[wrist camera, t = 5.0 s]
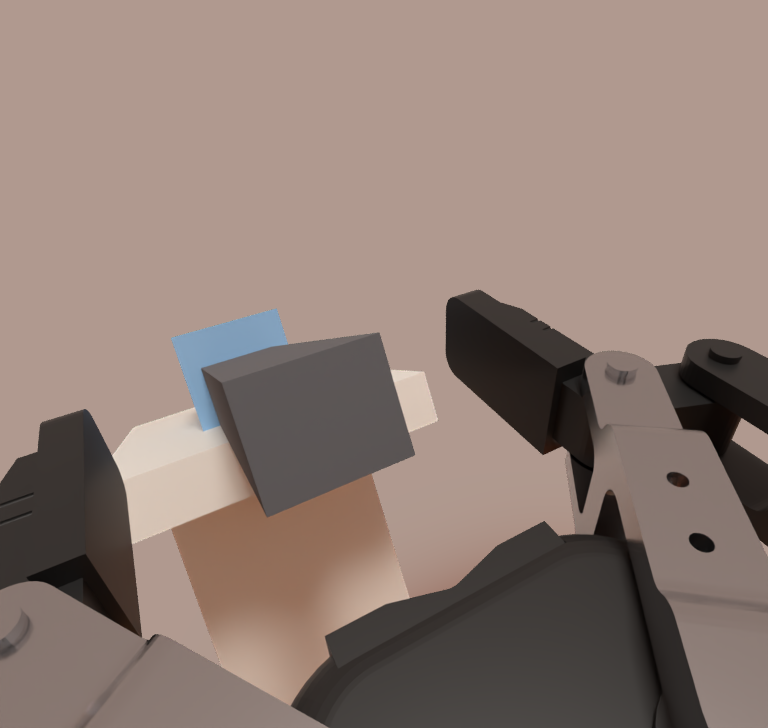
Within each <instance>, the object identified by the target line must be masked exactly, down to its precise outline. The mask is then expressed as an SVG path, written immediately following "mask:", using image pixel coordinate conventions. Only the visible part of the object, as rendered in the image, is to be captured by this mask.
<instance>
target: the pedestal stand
mask: <svg viewBox="0 0 768 728" xmlns="http://www.w3.org/2000/svg"><path fill="white" fill-rule="evenodd" d="M390 371H391V374H392V377H393V381H394V384H395V388H396V391H397V394H398V398H399V401H400V405H401V408H402V411H403V415H404V418H405V422H406V425H407V429H408V432H411V431H414V430H416V429H419V428H421V427H424V426H426V425H429V424H431V423H433V422H436V421H438V419H437V415H436V412H435V408H434V405H433V401H432V398H431V394H430V391H429V387H428V384H427V380H426V377H425V373H424V372H418V371H402V370H401V371H400V370H390ZM112 457H113V459H114V461H115V462H116V464H117V466H118V469H119V471H120V474H121V476H122V479H123V482H124V486H125V490H126V495H127V503H128V513H129V522H130V531H131V540H132V544H134V543H136V542H139V541H141V540H144V539H146V538H148V537H151V536H154V535H156V534H159V533H161V532H163V531H166V530H168V529H172V532H173V535H174V538H175V540H176V543H177V546H178V549H179V552H180V554H181V557H182V560H183V563H184V565H185V568H186V571H187V574H188V576H189V579H190V582H191V585H192V587H193V590H194V593H195V596H196V598H197V601H198V604H199V607H200V609H201V612H202V615H203V618H204V620H205V623H206V626H207V629H208V631H209V634H210V637H211V640H212V642H213V645H214V648H215V651H216V653H217V656H218V659H219V662H220V665H221V667H222V668H224V669H226V670H227V671H229V672H231V673H233V674H234V675H236V676H238V677H240V678H242V679H243V680H245V681H247V682H249V683H250V684H252V685H254V686H256V687H257V688H259V689H261V690H263V691H265V692H266V693H268V694H270V695H272V696H273V697H275V698H277V699H279V700H281V701H282V702H284V703H286V704H288V705H289V706H291V704H292V702H293V700H294V699H295V697H296V696H297V694H298V693H299V691H300V690H301V688H302V687H303V685H304V684H305V682H306V681H307V680H308V679H309V678H310V677H311V675H312V674H313V673H314V672H315V671H316V670H317V668H318V667H319V666H320V665H321V664H322V663H324V662H325V661H326V660H327V659H328V658H329V657H330V656H329V652H328V648H327V644H326V640H325V636H326V635H328V634H330V633H332V632H333V631H335V630H337V629H339V628H341V627H343V626H345V625H347V624H349V623H351V622H353V621H354V620H356V619H358V618H360V617H362V616H364V615H366V614H368V613H370V612H372V611H373V610H375V609H377V608H379V607H381V606H383V605H385V604H388V603H392V602H396V601H401V600H405V599H409V595H408V591H407V588H406V585H405V582H404V578H403V575H402V572H401V569H400V565H399V562H398V559H397V556H396V553H395V549H394V546H393V543H392V539H391V536H390V533H389V529H388V527H387V523H386V520H385V516H384V513H383V510H382V507H381V504H380V500H379V497H378V494H377V490H376V487H375V484H374V480H373V477H372V474H369V475H367V476H365V477H362V478H360V479H357V480H355V481H353V482H350V483H348V484H346V485H343V486H341V487H339V488H336V489H334V490H331V491H329V492H327V493H324V494H322V495H320V496H317V497H315V498H313V499H310V500H308V501H305V502H303V503H301V504H298V505H296V506H294V507H291V508H289V509H287V510H284V511H282V512H279V513H277V514H275V515H272V516H270V517H268V518H267V516H266V514H265V513H264V511H263V509H262V507H261V505H260V503H259V501H258V499H257V497H256V495H255V493H254V491H253V489H252V487H251V485H250V483H249V481H248V479H247V477H246V475H245V473H244V471H243V469H242V467H241V465H240V463H239V461H238V459H237V457H236V455H235V453H234V451H233V449H232V447H231V446H230V444H229V442H228V440H227V438H226V436H225V434H224V432H223V430H222V428H221V426H218V427H215V428H212V429H209V430H206V431H203V429H202V426H201V423H200V421H199V418H198V415H197V412H196V409H195V407H194V408H191V409H188V410H185V411H182V412H179V413H176V414H173V415H170V416H167V417H164V418H160V419H158V420H155V421H151V422H148V423H145V424H142V425H139V426H136V427H134V428H133V429H132V430H131V431H130V433H129V434H128V435H127V437H126V438H125V439H124V441H123V442H122V443H121V445H120V446H119V447H118V449H117V450H116V451H115V453H114V454H113V455H112Z"/></svg>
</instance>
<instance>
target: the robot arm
mask: <svg viewBox="0 0 768 728" xmlns="http://www.w3.org/2000/svg"><path fill="white" fill-rule="evenodd" d="M446 358H447V361H448V364H449V367H450V369H451V370H452V372H453V373H454V375H455V376H456V377H457V378H459V379H460V380H461V381H462V382H463V383H464V384H465V385H466V386H467V387H468V388H470V389H471V390H472V391H473V392H474V393H475V394H476V395H477V396H478V397H479V398H481V399H482V400H483V401H484V402H485V403H486V404H487V405H488V406H489V407H491V408H492V409H493V410H494V411H495V412H496V413H497V414H498V415H499V416H501V417H502V418H503V419H504V420H505V421H506V422H507V423H508V424H509V425H510V426H512V427H513V428H514V429H515V430H516V431H517V432H518V433H519V434H520V435H521V436H523V437H524V438H525V439H526V440H527V441H528V442H529V443H530V444H531V445H532V446H534V447H535V448H536V449H537V450H538V451H539V452H540V453H541V454H543V455H544V454H546V453H548V452H551V451H553V450H555V449H557V448H559V447H562V446H563V447H564V448H565V449H566V450H567V454H566V459H565V464H566V471H567V478H568V484H569V491H570V498H571V504H572V511H573V518H574V524H575V534H572V535H561V536H558V535H557V534H556V533H555V532H554V531H553V529H552V528H551V527H550V526H549V525H548V524H547V523H546V522H545V521H544V522H542V523H540V524H538V525H536V526H534V527H532V528H530V529H528V530H526V531H524V532H522V533H521V534H519V535H517V536H515V537H513V538H511V539H509V540H507V541H505V542H503V543H501V544H500V545H498V546H497V547H495V548H494V549H493V550H492V551H491V552H490V553H489V554H488V555H487V556H486V557H485V558H484V559H483V560H482V561H481V562H480V563H479V564H478V565H477V566H476V567H475V568H474V569H473V570H472V571H471V572H470V573H469V574H467V576H465V577H464V578H463V579H462V580H461V581H460V582H459V583H458V584H457V585H456V586H454V587H452V588H450V589H447V590H443V591H439V592H434V593H430V594H426V595H422V596H418V597H413V598H409V599H405V600H401V601H396V602H392V603H388V604H385V605H383V606H381V607H379V608H377V609H375V610H373V611H372V612H370V613H368V614H366V615H364V616H362V617H360V618H358V619H356V620H354V621H353V622H351V623H349V624H347V625H345V626H343V627H341V628H339V629H337V630H335V631H333V632H332V633H330V634H328V635H326V636H325V640H326V644H327V648H328V652H329V656H330V657H329V658H328V659H327V660H326V661H325V662H324V663H322V664H321V665H320V666H319V667H318V668H317V670H316V671H315V672H314V673H313V674H312V675H311V677H310V678H309V679H308V680H307V681H306V682H305V684H304V685H303V687H302V688H301V690H300V691H299V693H298V694H297V696H296V697H295V699H294V700H293V702H292V704H291V706H289V705H288V704H286V703H284V702H282V701H281V700H279V699H277V698H275V697H273V696H272V695H270V694H268V693H266V692H265V691H263V690H261V689H259V688H257V687H256V686H254V685H252V684H250V683H249V682H247V681H245V680H243V679H242V678H240V677H238V676H236V675H234V674H233V673H231V672H229V671H227V670H226V669H224V668H222V667H220V666H218V665H217V664H215V663H213V662H211V661H209V660H208V659H206V658H204V657H202V656H201V655H199V654H197V653H195V652H193V651H192V650H190V649H188V648H186V647H185V646H183V645H181V644H179V643H178V642H176V641H174V640H172V639H170V638H168V637H166V636H163V635H158V634H155V635H153V636H152V637H151V639H150V640H146V639H143V638H142V633H141V624H140V615H139V605H138V596H137V587H136V578H135V569H134V559H133V550H132V540H131V531H130V522H129V513H128V503H127V495H126V490H125V486H124V482H123V479H122V476H121V474H120V471H119V469H118V466H117V464H116V462H115V461H114V459H113V457H112V455H111V453H110V451H109V449H108V447H107V445H106V443H105V441H104V439H103V437H102V435H101V433H100V431H99V429H98V427H97V426H96V424H95V422H94V420H93V418H92V416H91V414H90V413H89V412H88V411H87V410H86V409H84V410H81V411H77V412H74V413H71V414H67V415H64V416H61V417H57V418H54V419H51V420H48V421H44V422H42V423H41V424H40V431H39V442H38V452H36V453H33V454H30V455H27V456H24V457H20V458H18V459H17V460H16V461H15V463H14V464H13V466H12V467H11V468H10V470H9V471H8V473H7V474H6V475H5V477H4V478H3V480H2V481H1V483H0V728H768V557H767V555H766V553H765V551H764V548H763V546H762V544H761V542H760V541H762V542H763V543H764V544H765V545H767V546H768V464H766V463H765V462H763V461H762V460H760V459H759V458H757V457H756V456H755V455H753V454H751V453H750V452H749V451H747V450H746V449H744V448H743V447H741V446H740V445H738V444H736V443H735V442H734V441H732V438H733V435H734V433H735V431H736V429H737V427H738V424H739V422H740V420H741V418H743V419H744V420H746V421H747V422H749V423H751V424H752V425H754V426H756V427H757V428H759V429H760V430H762V431H764V432H765V433H767V434H768V358H766V357H764V356H762V355H760V354H758V353H757V352H755V351H753V350H750V349H749V348H746V347H744V346H742V345H739V344H736V343H733V342H729V341H725V340H718V339H702V340H697V341H694V342H692V343H690V344H689V345H688V346H687V348H686V351H685V354H684V357H683V360H682V363H677V364H669V365H661V366H653V365H652V364H651V363H650V362H649V361H647V360H645V359H644V358H641V357H639V356H637V355H634V354H630V353H626V352H621V351H604V352H599V353H596V354H594V353H592V352H590V351H589V350H587V349H585V348H584V347H582V346H581V345H579V344H578V343H576V342H574V341H572V340H571V339H569V338H568V337H566V336H565V335H563V334H561V333H560V332H558V331H556V330H555V329H551V328H550V326H548V325H547V324H545V323H544V322H542V321H538V319H537V318H536V317H534V316H532V315H531V314H529V313H528V312H526V311H524V310H523V309H520V308H517V307H514V306H511V305H507V304H504V303H500V302H499V301H497V300H495V299H494V298H492V297H491V296H489V295H488V294H486V293H484V292H483V291H481V290H475V291H471V292H468V293H465V294H462V295H458V296H455V297H452V298H450V299H449V300H448V303H447V306H446Z"/></svg>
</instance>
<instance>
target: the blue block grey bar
mask: <svg viewBox="0 0 768 728" xmlns="http://www.w3.org/2000/svg"><path fill="white" fill-rule="evenodd" d="M171 340H172V342H173V345H174V348H175V351H176V354H177V357H178V360H179V363H180V365H181V368H182V371H183V374H184V377H185V380H186V383H187V386H188V388H189V392H190V394H191V397H192V400H193V403H194V406H195V409H196V412H197V415H198V418H199V421H200V423H201V426H202V429H203V431H206V430H209V429H212V428H215V427H218V426H221V428H222V430H223V432H224V434H225V436H226V438H227V440H228V442H229V444H230V446H231V447H232V449H233V451H234V453H235V455H236V457H237V459H238V461H239V463H240V465H241V467H242V469H243V471H244V473H245V475H246V477H247V479H248V481H249V483H250V485H251V487H252V489H253V491H254V493H255V495H256V497H257V499H258V501H259V503H260V505H261V507H262V509H263V511H264V513H265V514H266V516H267V518H268V517H270V516H272V515H275V514H277V513H279V512H282V511H284V510H287V509H289V508H291V507H294V506H296V505H298V504H301V503H303V502H305V501H308V500H310V499H313V498H315V497H317V496H320V495H322V494H324V493H327V492H329V491H331V490H334V489H336V488H339V487H341V486H343V485H346V484H348V483H350V482H353V481H355V480H357V479H360V478H362V477H365V476H367V475H369V474H372V473H374V472H376V471H379V470H381V469H383V468H386V467H388V466H391V465H393V464H395V463H398V462H400V461H402V460H405V459H407V458H409V457H412V456H414V455H415V452H414V449H413V446H412V442H411V439H410V435H409V432H408V429H407V425H406V422H405V418H404V415H403V411H402V408H401V405H400V401H399V398H398V394H397V391H396V388H395V384H394V381H393V377H392V374H391V371H390V367H389V364H388V361H387V357H386V354H385V350H384V347H383V343H382V340H381V337H380V333H372V334H365V335H357V336H349V337H342V338H335V339H326V340H319V341H312V342H304V343H296V344H289V345H288V343H287V340H286V337H285V333H284V330H283V327H282V324H281V321H280V318H279V314H278V311H277V309H273V310H270V311H266V312H262V313H259V314H255V315H251V316H248V317H244V318H241V319H237V320H234V321H230V322H226V323H223V324H219V325H216V326H212V327H208V328H205V329H201V330H198V331H194V332H190V333H187V334H183V335H180V336H176V337H172V338H171Z"/></svg>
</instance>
